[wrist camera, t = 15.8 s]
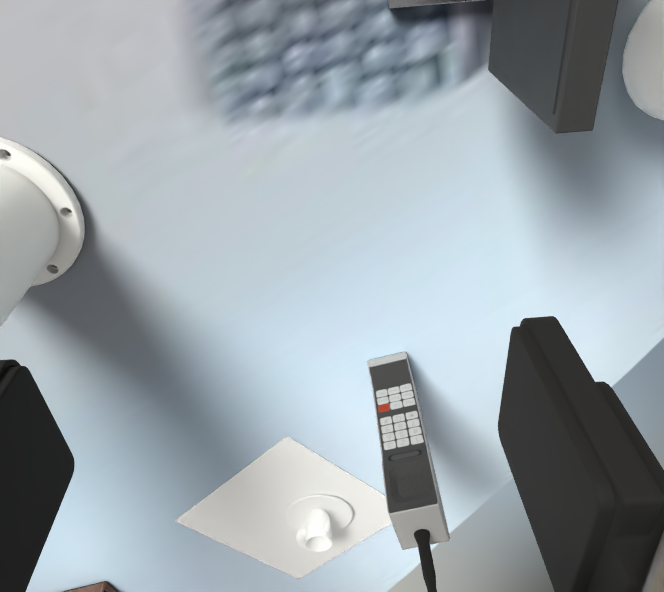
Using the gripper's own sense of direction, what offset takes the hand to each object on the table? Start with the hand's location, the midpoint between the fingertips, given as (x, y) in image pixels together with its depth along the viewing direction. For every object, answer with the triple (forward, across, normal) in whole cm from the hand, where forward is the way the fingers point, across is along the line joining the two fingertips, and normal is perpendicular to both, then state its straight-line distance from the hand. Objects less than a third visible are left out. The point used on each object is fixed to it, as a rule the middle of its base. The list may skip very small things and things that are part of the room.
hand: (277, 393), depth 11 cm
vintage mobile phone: (+32, -6, +30) cm, 45 cm away
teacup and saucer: (+32, +6, +52) cm, 62 cm away
